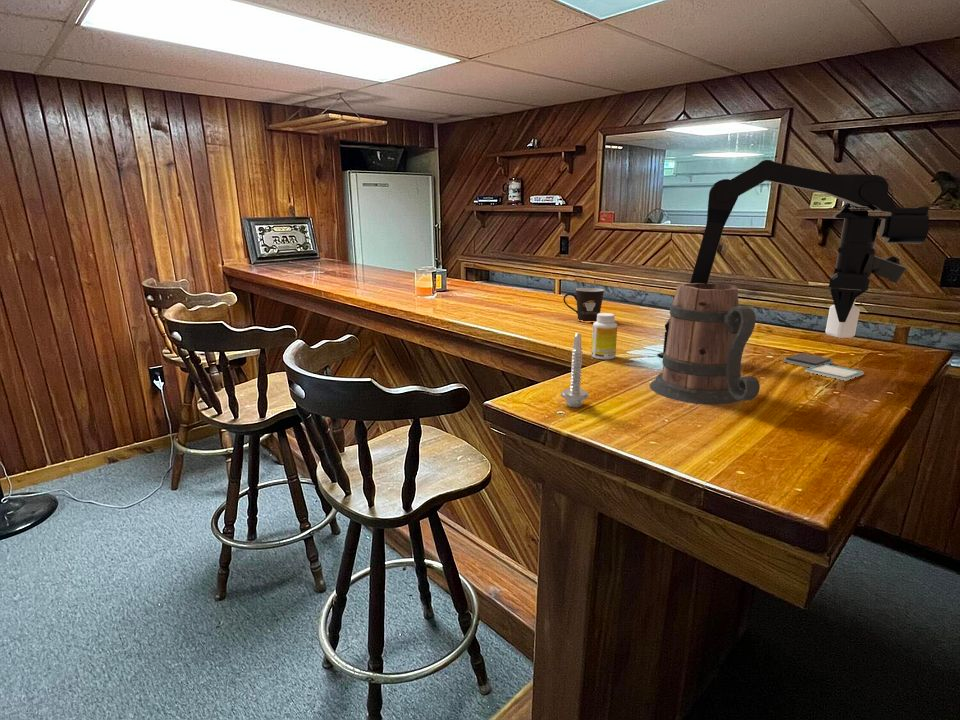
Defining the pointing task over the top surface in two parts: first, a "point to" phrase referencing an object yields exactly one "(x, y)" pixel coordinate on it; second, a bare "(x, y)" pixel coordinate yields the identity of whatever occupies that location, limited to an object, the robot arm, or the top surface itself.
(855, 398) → the top surface
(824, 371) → the print card
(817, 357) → the pad
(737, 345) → the tankard
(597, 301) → the coffee mug
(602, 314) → the supplement bottle
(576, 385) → the screw
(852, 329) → the pepper shaker
